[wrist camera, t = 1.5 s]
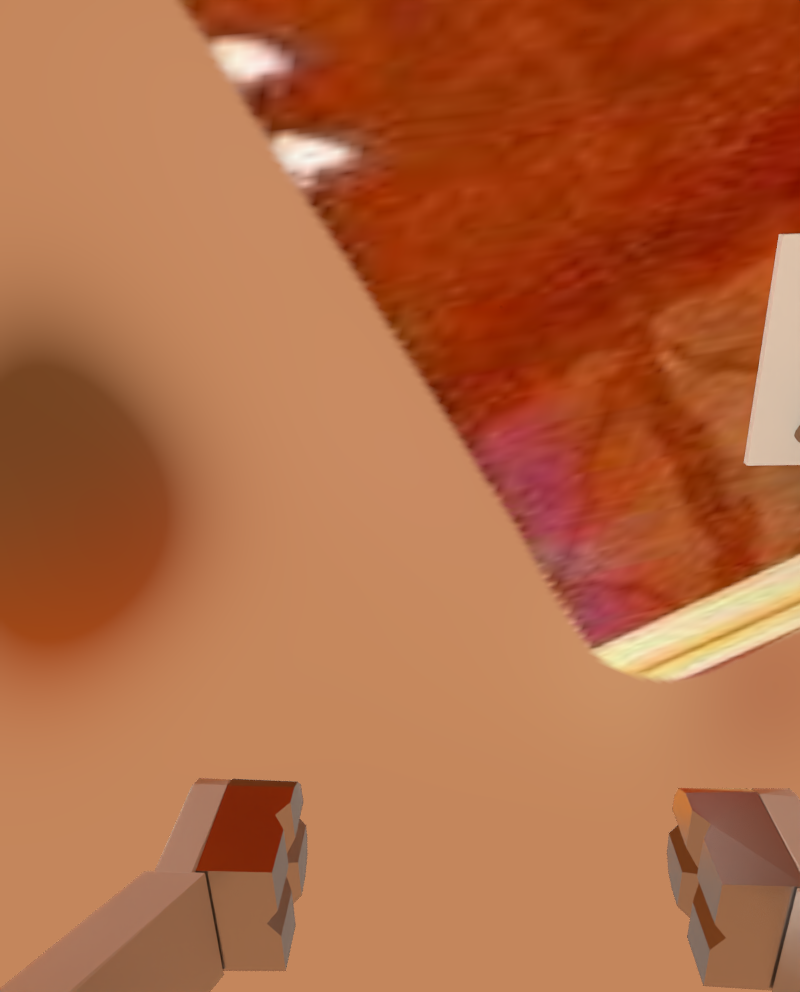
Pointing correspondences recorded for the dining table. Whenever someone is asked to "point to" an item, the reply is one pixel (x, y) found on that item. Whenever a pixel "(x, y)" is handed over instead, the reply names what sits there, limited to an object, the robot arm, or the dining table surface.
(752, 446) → the mat
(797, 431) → the wooden block
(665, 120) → the dining table surface
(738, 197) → the dining table surface
